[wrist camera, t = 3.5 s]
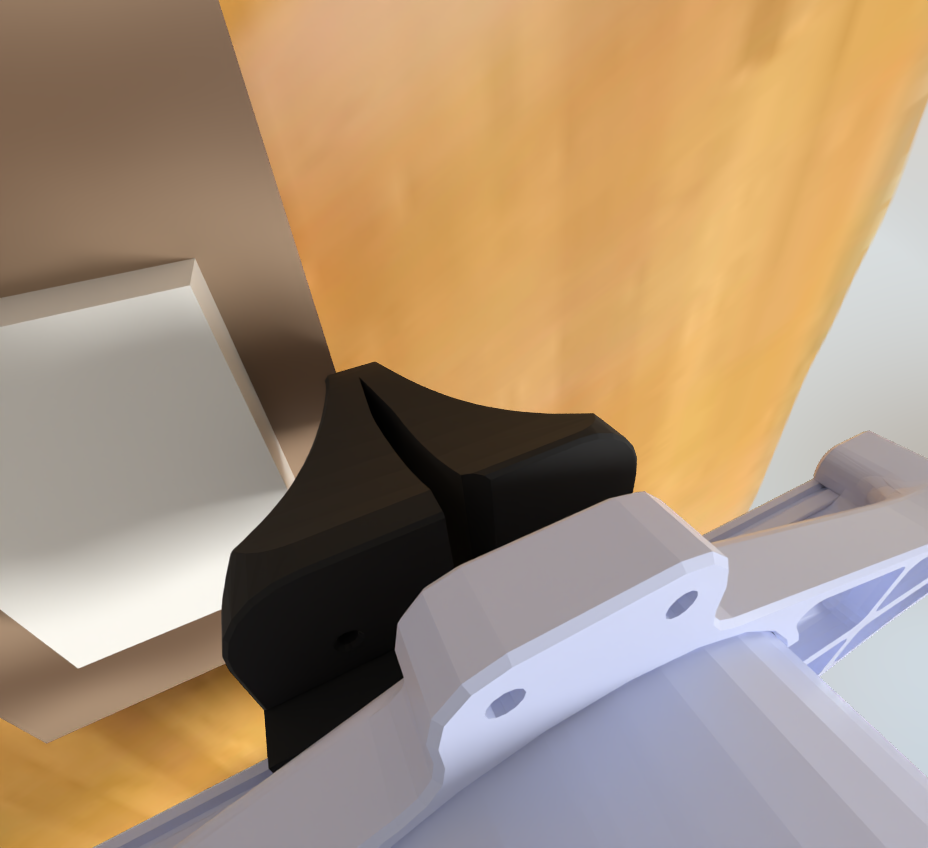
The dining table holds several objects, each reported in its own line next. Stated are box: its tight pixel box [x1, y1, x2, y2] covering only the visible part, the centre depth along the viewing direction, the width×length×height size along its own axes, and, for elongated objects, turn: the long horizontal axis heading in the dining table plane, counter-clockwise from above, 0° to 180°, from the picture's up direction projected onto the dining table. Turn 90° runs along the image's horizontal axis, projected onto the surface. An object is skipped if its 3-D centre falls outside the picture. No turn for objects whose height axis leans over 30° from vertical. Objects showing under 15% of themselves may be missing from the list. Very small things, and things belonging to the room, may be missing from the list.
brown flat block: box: [0, 0, 336, 743], centre depth 12 cm, size 18×12×4 cm, turn 6°
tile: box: [0, 258, 295, 668], centre depth 10 cm, size 8×6×2 cm
